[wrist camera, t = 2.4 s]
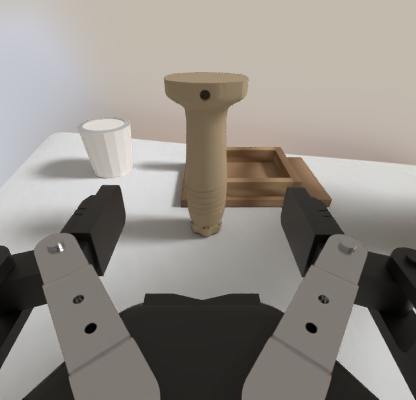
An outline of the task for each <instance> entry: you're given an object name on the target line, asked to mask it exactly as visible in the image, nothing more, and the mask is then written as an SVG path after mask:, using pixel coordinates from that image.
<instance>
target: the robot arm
mask: <svg viewBox="0 0 416 400" xmlns="http://www.w3.org/2000/svg"><path fill="white" fill-rule="evenodd" d="M125 218H126V214H125V208H124V203H123V197H122V192H121V188H120V186H119V185H102V186H101V188H100V189H99V191H98V192H97V194H96V195H91V196H89V197H88V198H86V199H85V200H83V201H82V202H81V204H80V205H79V207H78V209H77V210H76V211H75V212H74V214H73V215H72V217H71V218H70V219H69V221H68V222H67V224H66V225H65V226H64V228H63V229H62V231H61V232H60V233H59V234H54V235H51V236H49V237H46V238H45V239H43V240H41V241H40V242H39V243H38V244H37V245H36V247H35V249H34V250H32V251H28V252H23V253H18V254H13V255H11V253H10V251H9V249H8V248H7V247H5V246H1V245H0V368H1V367H2V365H3V363H4V361H5V359H6V357H7V356H8V354H9V352H10V350H11V348H12V346H13V345H14V343H15V341H16V339H17V337H18V335H19V334H20V332H21V330H22V328H23V326H24V324H25V323H26V321H27V319H28V317H29V315H30V313H31V312H32V310H33V308H34V307H37V306H40V305H44V304H48V307H49V310H50V313H51V317H52V320H53V323H54V327H55V330H56V333H57V336H58V340H59V343H60V346H61V350H62V353H63V356H64V359H65V361H64V362H63V363H62V364H61V365H60V366H59V367H58V368H56V369H55V370H54V371H53V372H52V373H51V374H50V375H49V376H48V377H46V378H45V379H44V380H43V381H42V382H41V383H40V384H39V385H38V386H36V387H35V388H34V389H33V390H32V391H31V392H30V393H29V394H28V395H26V396H25V397H24V398H23V399H22V400H379V399H378V398H377V397H376V396H375V395H374V394H373V393H371V392H370V391H369V390H368V389H367V388H366V387H365V386H364V385H363V384H362V383H361V382H360V381H358V380H357V379H356V378H355V377H354V376H353V375H352V374H351V373H350V372H349V371H348V370H347V369H345V368H344V367H343V366H342V365H341V364H340V363H339V362H338V361H337V360H336V357H337V354H338V351H339V348H340V345H341V342H342V338H343V335H344V332H345V329H346V326H347V323H348V320H349V316H350V313H351V310H352V307H353V304H356V305H360V306H364V307H367V308H368V310H369V311H370V313H371V315H372V317H373V319H374V321H375V323H376V325H377V327H378V329H379V331H380V333H381V335H382V337H383V339H384V340H385V342H386V344H387V346H388V348H389V350H390V352H391V354H392V356H393V358H394V360H395V362H396V364H397V366H398V367H399V369H400V371H401V373H402V375H403V377H404V379H405V381H406V383H407V385H408V387H409V389H410V391H411V393H412V395H413V396H414V398H415V400H416V314H415V312H414V311H413V309H412V308H413V307H414V308H415V309H416V250H414V249H410V248H396V249H394V250H393V251H392V253H391V255H390V256H386V255H381V254H377V253H372V252H368V251H367V248H366V247H365V245H364V244H363V243H362V242H360V241H359V240H357V239H356V238H353V237H351V236H348V235H345V234H344V233H343V231H342V230H341V228H340V227H339V225H338V224H337V222H336V221H335V220H334V218H333V217H332V215H331V214H330V212H329V211H328V209H327V208H326V206H325V205H324V203H322V202H321V201H320V200H318V199H317V198H315V197H310V195H309V194H308V192H307V190H306V189H305V188H304V187H287V189H286V192H285V197H284V202H283V207H282V212H281V224H282V227H283V230H284V232H285V235H286V237H287V240H288V242H289V245H290V248H291V250H292V253H293V255H294V258H295V260H296V263H297V265H298V268H299V270H300V273H301V275H302V277H305V278H304V279H303V281H302V283H301V285H300V287H299V288H298V290H297V292H296V294H295V296H294V297H293V299H292V301H291V303H290V305H289V306H288V308H287V310H286V312H285V313H283V312H282V311H280V310H278V309H276V308H274V307H272V306H269V305H267V304H263V303H260V298H259V294H227V295H223V296H219V297H214V298H210V299H206V300H199V299H194V298H190V297H186V296H181V295H177V294H145V298H144V303H141V304H137V305H134V306H132V307H130V308H127V309H125V310H124V311H122V312H120V313H119V314H118V312H117V310H116V308H115V306H114V305H113V303H112V301H111V299H110V297H109V295H108V294H107V292H106V290H105V288H104V286H103V284H102V282H101V281H100V279H99V277H98V276H103V275H104V273H105V271H106V268H107V266H108V263H109V261H110V258H111V256H112V254H113V251H114V249H115V246H116V244H117V241H118V239H119V236H120V234H121V232H122V229H123V227H124V224H125Z"/></svg>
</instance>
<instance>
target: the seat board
mask: <svg viewBox="0 0 416 400" xmlns="http://www.w3.org/2000/svg"><path fill="white" fill-rule="evenodd" d="M226 156H227V193H226V202H225V207H283V202H284V197H285V192H286V189H287V187H304V188H305V189H306V190H307V192H308V194H309V195H310V197H315V198H317V199H318V200H320V201H321V202H322V203H324V205H325V206H330V204H331V201H332V199H331V198H330V196H329V195H328V194H327V192H326V191H325V190H324V188H323V187H322V185H321V184H320V183H319V181H318V180H317V179H316V177H315V176H314V174H313V173H312V172H311V170H310V169H309V168H308V166H307V165H306V163H305V162H304V161H303V159H302V158H301V157H286V155H285V154H284V152H283V151H282V149H281V148H280V147H261V148H260V147H226ZM181 207H188V204H187V197H186V167H185V174H184V182H183V189H182V196H181Z"/></svg>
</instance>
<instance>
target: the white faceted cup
mask: <svg viewBox="0 0 416 400" xmlns="http://www.w3.org/2000/svg"><path fill="white" fill-rule="evenodd" d="M78 130H79V133H80V135H81V138H82V141H83V143H84V146H85V149H86V151H87V154H88V157H89V159H90V162H91V165H92V167H93V170H94V173H95V175H96V176H98V177H101V178H117V177H122V176H124V175H126V174H128V173H130V172H131V171H132V169H133V160H132V145H131V130H130V122H129V121H128V120H125V119H121V118H100V119H94V120H90V121H86V122H84V123H82V124H80V125H79V126H78Z"/></svg>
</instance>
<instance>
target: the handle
mask: <svg viewBox="0 0 416 400" xmlns="http://www.w3.org/2000/svg"><path fill="white" fill-rule="evenodd" d="M164 83H165V92H166V95H167V96H168V97H169V98H170V99H171V100H173V101H175V102H176V103H178V104H180V105H182V106H183V107H184V108H185V114H186V124H187V126H186V131H187V132H186V137H187V138H186V197H187V204H188V209H189V214H190V217H191V219H192V221H191V227H192V230H193V231H194V232H196V233H199V234H201V235H203V236H205V237H208V236H209V235H211V234H214V233H218V232H219V231H220V229H221V225H222V222H221V219H222V217H223V213H224V208H225V202H226V193H227V156H226V118H227V110H228V108H229V107H230V106H231V105H233V104H235V103H237V102H239V101H240V100H242V99H243V98H244V97H245V96H246V94H247V89H248V77H247V76H245V75H241V74H231V73H207V72H200V73H199V72H196V73H177V74H170V75H167V76H165V77H164Z"/></svg>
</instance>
